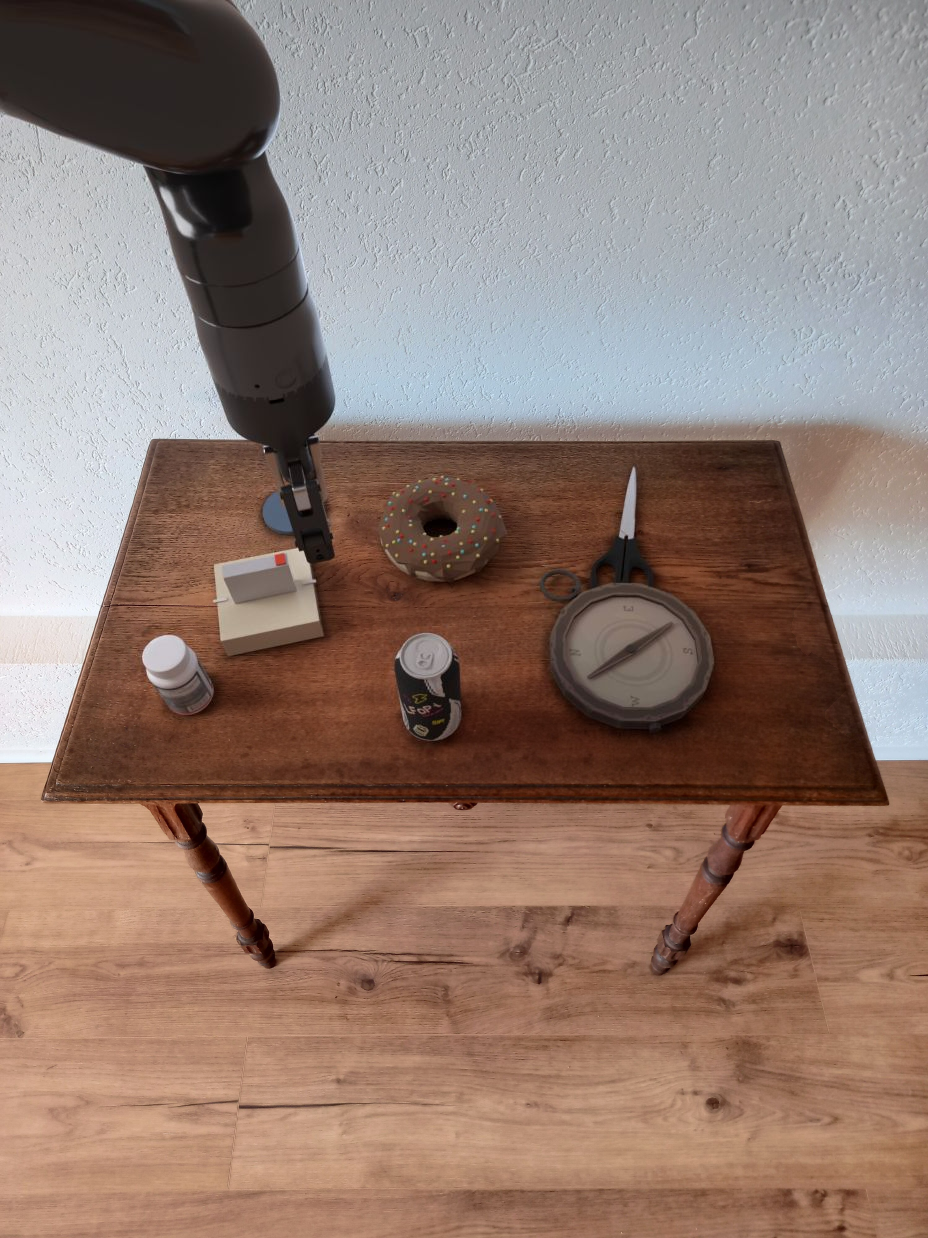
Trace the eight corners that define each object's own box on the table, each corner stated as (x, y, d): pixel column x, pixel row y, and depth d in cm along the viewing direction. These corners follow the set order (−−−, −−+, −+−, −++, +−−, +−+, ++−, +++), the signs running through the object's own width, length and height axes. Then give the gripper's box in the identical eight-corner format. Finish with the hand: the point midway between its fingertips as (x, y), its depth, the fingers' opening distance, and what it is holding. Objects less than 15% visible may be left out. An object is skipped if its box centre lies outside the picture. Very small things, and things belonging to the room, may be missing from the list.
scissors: (602, 466, 97) (587, 602, 86) (603, 461, 96) (588, 598, 85) (658, 472, 96) (650, 611, 86) (659, 467, 95) (652, 606, 85)
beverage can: (396, 737, 78) (384, 676, 68) (412, 686, 81) (402, 621, 71) (454, 749, 77) (450, 689, 67) (467, 697, 80) (465, 633, 70)
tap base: (224, 657, 83) (216, 641, 81) (217, 581, 89) (209, 563, 86) (327, 635, 85) (322, 619, 82) (314, 562, 90) (309, 544, 87)
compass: (730, 727, 78) (736, 719, 76) (563, 745, 77) (565, 736, 76) (679, 559, 89) (683, 548, 87) (532, 574, 88) (533, 563, 86)
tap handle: (234, 604, 83) (222, 576, 79) (233, 591, 84) (220, 564, 80) (297, 591, 84) (288, 563, 80) (295, 579, 85) (286, 551, 81)
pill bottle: (171, 675, 82) (143, 630, 75) (218, 674, 82) (193, 630, 75) (162, 716, 80) (132, 675, 73) (210, 716, 80) (184, 674, 73)
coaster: (266, 540, 92) (265, 536, 91) (260, 495, 96) (259, 491, 95) (327, 528, 93) (327, 524, 92) (319, 484, 96) (318, 480, 96)
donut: (365, 578, 89) (359, 549, 85) (402, 487, 96) (398, 457, 92) (491, 604, 86) (491, 576, 82) (519, 510, 94) (521, 480, 90)
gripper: (199, 298, 55) (256, 465, 69) (218, 441, 48) (278, 598, 61) (307, 278, 56) (343, 448, 70) (343, 416, 48) (375, 576, 62)
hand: (312, 518), depth 65 cm, fingers open, 8 cm apart
